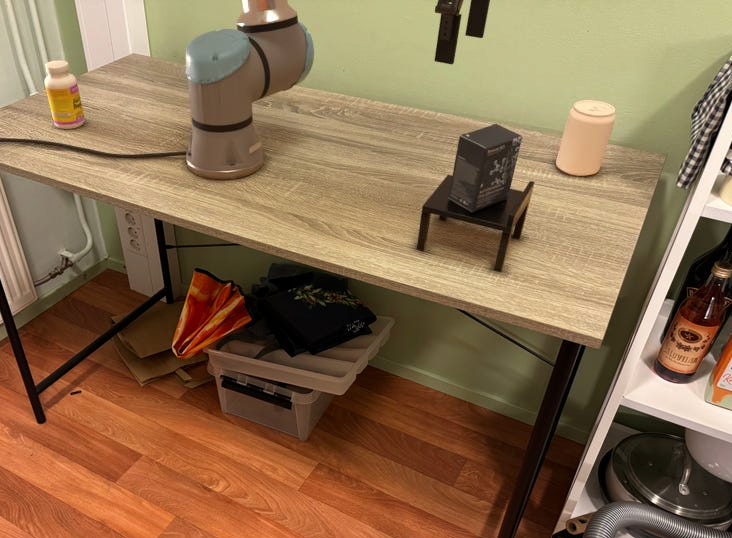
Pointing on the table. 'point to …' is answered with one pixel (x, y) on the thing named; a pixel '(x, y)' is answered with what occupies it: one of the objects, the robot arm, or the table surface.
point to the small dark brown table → (479, 215)
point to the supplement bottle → (63, 96)
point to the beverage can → (585, 137)
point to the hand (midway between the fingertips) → (459, 49)
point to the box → (484, 167)
